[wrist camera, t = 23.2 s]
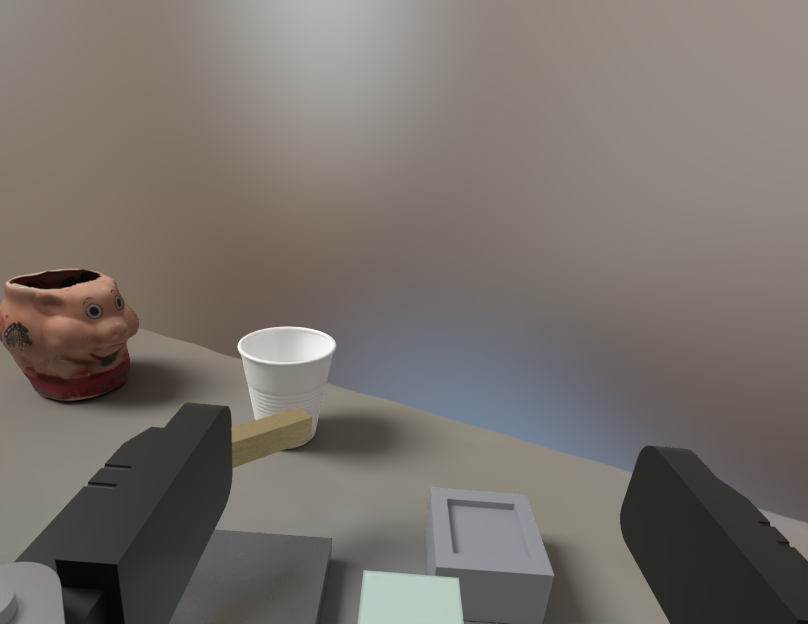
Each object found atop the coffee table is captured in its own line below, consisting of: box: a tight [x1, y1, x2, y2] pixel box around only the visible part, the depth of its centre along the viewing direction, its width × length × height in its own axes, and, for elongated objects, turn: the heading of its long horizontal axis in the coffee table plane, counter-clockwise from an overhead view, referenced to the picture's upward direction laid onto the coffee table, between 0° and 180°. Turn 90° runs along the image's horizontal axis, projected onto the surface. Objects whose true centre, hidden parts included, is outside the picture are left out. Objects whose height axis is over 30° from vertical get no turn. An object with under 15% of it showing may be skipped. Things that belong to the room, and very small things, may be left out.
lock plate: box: [169, 530, 332, 624], centre depth 32 cm, size 13×9×2 cm
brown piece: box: [232, 407, 312, 468], centre depth 34 cm, size 13×3×9 cm, turn 131°
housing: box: [425, 487, 554, 624], centre depth 36 cm, size 8×8×5 cm
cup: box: [238, 327, 336, 449], centre depth 51 cm, size 10×10×11 cm
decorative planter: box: [0, 269, 139, 401], centre depth 57 cm, size 20×12×14 cm, turn 73°
